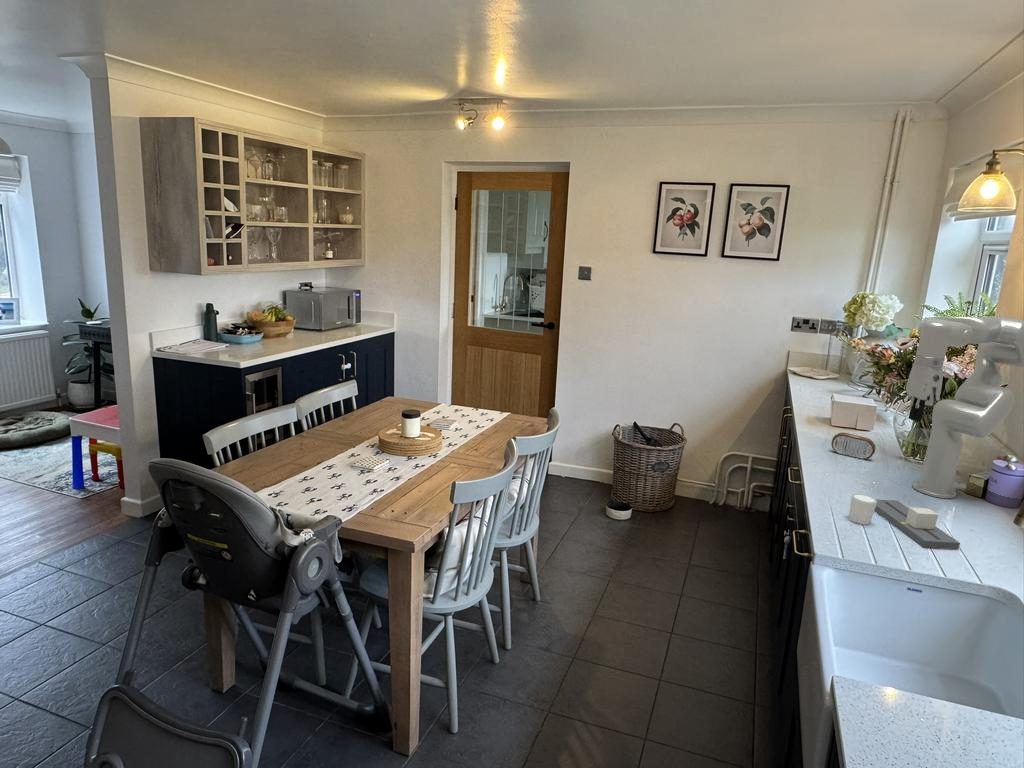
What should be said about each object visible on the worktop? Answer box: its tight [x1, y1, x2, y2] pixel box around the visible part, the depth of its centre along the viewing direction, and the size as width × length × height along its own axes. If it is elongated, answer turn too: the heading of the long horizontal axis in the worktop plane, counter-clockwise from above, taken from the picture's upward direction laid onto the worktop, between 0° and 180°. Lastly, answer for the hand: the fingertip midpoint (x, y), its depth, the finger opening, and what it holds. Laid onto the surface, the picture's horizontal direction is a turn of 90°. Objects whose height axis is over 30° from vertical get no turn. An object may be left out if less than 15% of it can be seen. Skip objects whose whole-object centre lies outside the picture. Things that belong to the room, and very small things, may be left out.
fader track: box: [874, 498, 961, 550], centre depth 199 cm, size 28×10×2 cm, turn 4°
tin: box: [830, 432, 876, 461], centre depth 258 cm, size 15×3×8 cm, turn 58°
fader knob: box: [906, 506, 939, 529], centre depth 194 cm, size 4×6×4 cm, turn 94°
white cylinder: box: [848, 493, 877, 525], centre depth 199 cm, size 7×7×7 cm
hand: (914, 419), depth 211 cm, fingers closed
